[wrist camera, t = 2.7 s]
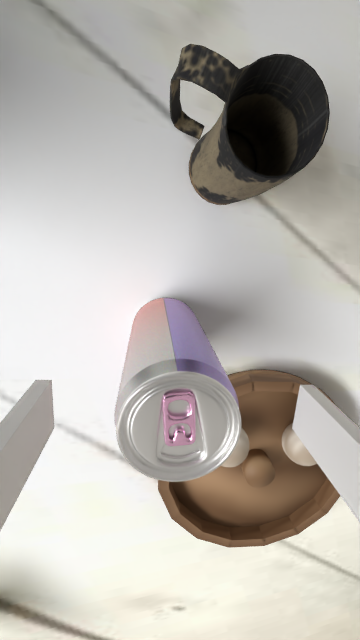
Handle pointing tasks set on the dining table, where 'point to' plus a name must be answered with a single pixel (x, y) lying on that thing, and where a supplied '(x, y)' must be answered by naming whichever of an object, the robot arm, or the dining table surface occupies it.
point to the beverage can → (174, 397)
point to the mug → (251, 122)
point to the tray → (229, 487)
